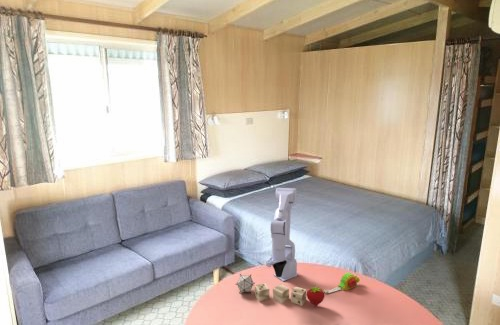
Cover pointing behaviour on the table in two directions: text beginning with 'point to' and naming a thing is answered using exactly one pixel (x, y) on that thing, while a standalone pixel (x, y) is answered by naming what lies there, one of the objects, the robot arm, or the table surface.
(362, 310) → the table surface
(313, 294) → the strawberry
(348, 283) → the toy measuring tape
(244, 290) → the game die
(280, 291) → the plain block
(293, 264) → the robot arm
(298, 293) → the pip block
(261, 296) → the pip block
